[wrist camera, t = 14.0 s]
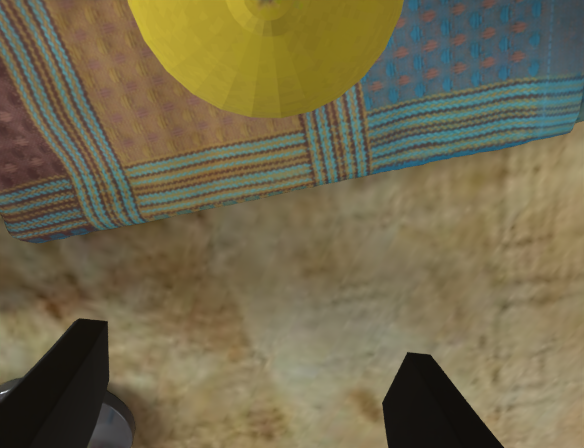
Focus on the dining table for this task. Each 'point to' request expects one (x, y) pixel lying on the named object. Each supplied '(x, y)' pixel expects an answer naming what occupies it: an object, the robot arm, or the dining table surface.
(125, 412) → the slate coaster
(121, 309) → the dining table surface
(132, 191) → the dish towel
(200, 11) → the lemon
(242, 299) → the dining table surface
